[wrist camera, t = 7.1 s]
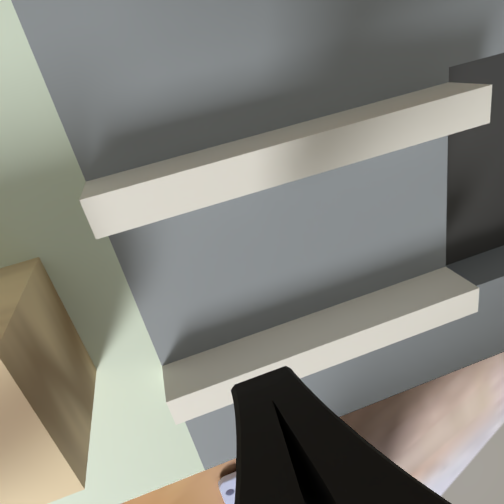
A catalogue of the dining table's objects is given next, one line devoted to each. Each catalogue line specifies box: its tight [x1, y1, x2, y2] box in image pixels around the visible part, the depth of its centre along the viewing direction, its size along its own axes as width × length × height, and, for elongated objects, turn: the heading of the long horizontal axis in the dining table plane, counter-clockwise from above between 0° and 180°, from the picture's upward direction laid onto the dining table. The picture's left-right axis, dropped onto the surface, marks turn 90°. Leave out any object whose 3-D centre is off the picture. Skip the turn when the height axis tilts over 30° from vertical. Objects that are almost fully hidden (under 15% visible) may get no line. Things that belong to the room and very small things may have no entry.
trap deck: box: [0, 0, 504, 504], centre depth 16 cm, size 20×31×4 cm, turn 102°
